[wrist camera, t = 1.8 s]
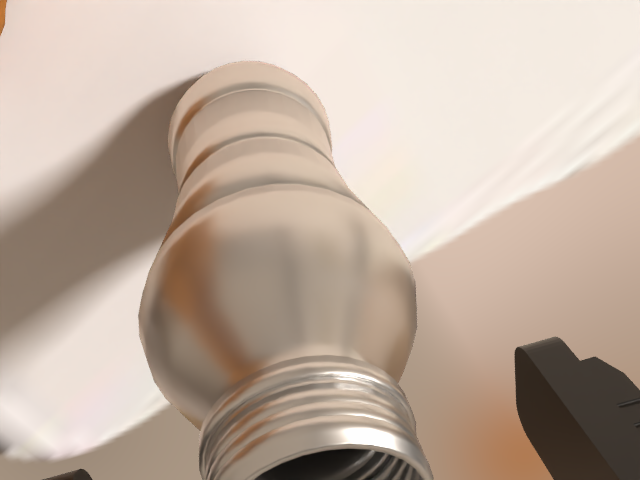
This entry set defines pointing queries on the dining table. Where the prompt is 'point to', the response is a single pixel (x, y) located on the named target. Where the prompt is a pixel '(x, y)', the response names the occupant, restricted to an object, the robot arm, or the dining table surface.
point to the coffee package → (2, 14)
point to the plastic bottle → (278, 294)
